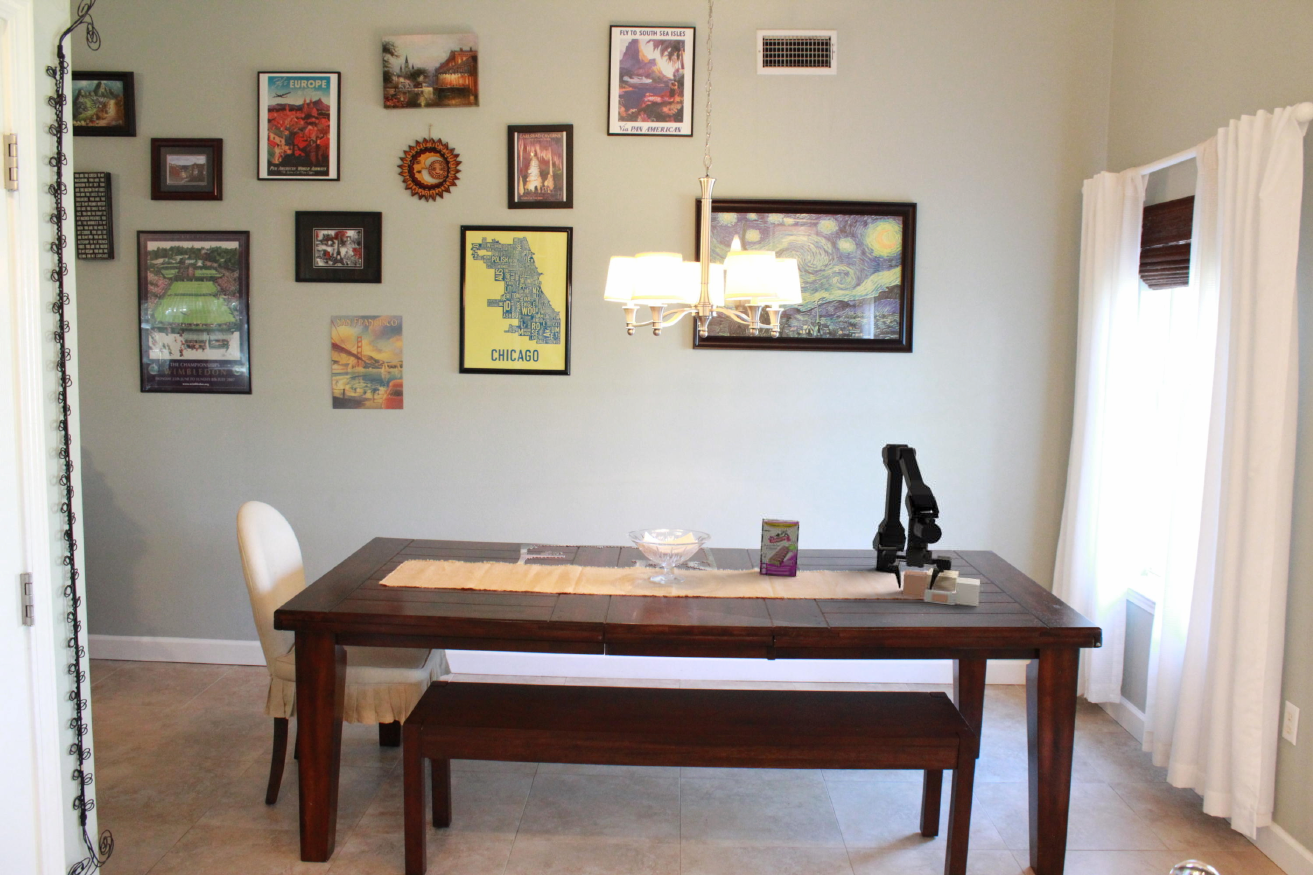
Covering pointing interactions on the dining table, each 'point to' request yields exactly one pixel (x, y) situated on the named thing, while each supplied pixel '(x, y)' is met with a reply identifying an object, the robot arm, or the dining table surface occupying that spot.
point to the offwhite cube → (967, 591)
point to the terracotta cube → (914, 583)
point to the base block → (944, 579)
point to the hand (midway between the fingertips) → (914, 589)
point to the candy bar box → (779, 547)
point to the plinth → (939, 597)
